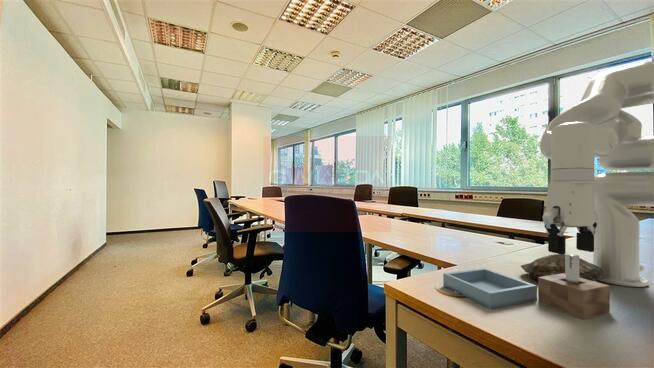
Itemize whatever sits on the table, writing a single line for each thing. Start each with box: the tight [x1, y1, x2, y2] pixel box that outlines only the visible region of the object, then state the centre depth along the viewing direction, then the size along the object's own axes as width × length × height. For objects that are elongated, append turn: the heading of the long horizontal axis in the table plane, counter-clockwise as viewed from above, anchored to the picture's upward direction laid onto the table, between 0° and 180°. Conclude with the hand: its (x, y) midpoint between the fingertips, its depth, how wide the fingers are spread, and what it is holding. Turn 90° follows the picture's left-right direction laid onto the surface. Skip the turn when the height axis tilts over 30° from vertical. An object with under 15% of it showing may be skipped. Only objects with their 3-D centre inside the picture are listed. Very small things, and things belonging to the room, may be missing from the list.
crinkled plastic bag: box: [520, 253, 604, 282], centre depth 82 cm, size 16×9×20 cm
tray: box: [442, 267, 538, 309], centre depth 73 cm, size 15×15×4 cm
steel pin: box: [565, 253, 580, 285], centre depth 64 cm, size 2×2×12 cm
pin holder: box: [537, 273, 611, 320], centre depth 64 cm, size 9×9×6 cm
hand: (571, 251), depth 64 cm, fingers open, 9 cm apart
